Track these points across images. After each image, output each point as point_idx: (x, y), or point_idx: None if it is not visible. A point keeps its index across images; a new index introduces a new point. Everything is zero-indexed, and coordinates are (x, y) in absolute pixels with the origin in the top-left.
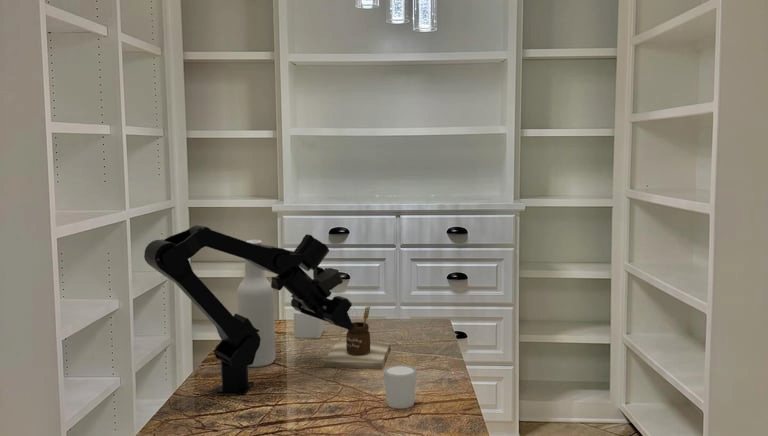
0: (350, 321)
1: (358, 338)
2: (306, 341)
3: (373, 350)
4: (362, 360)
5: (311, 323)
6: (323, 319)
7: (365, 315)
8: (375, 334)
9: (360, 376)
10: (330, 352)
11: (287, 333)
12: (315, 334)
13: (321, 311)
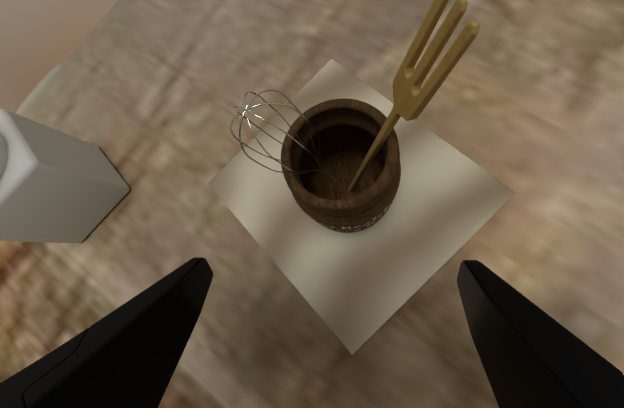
0: (550, 323)
1: (392, 200)
2: (124, 233)
3: None
4: (440, 232)
5: (63, 196)
6: (189, 329)
7: (418, 91)
8: (209, 50)
9: None
10: (286, 270)
11: None
12: (112, 195)
13: (127, 367)
